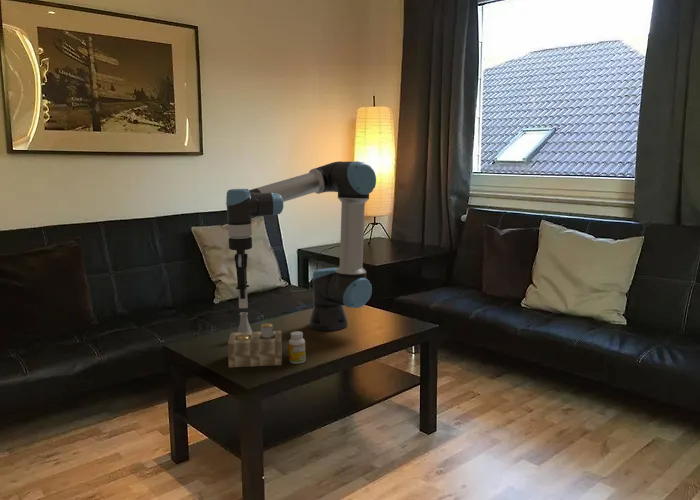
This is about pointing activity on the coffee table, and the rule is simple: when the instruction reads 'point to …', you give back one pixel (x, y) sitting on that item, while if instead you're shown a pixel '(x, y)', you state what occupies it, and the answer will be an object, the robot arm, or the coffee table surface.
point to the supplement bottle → (297, 348)
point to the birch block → (254, 350)
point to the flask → (244, 323)
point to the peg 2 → (266, 331)
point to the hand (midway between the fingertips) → (243, 307)
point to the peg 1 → (243, 337)
